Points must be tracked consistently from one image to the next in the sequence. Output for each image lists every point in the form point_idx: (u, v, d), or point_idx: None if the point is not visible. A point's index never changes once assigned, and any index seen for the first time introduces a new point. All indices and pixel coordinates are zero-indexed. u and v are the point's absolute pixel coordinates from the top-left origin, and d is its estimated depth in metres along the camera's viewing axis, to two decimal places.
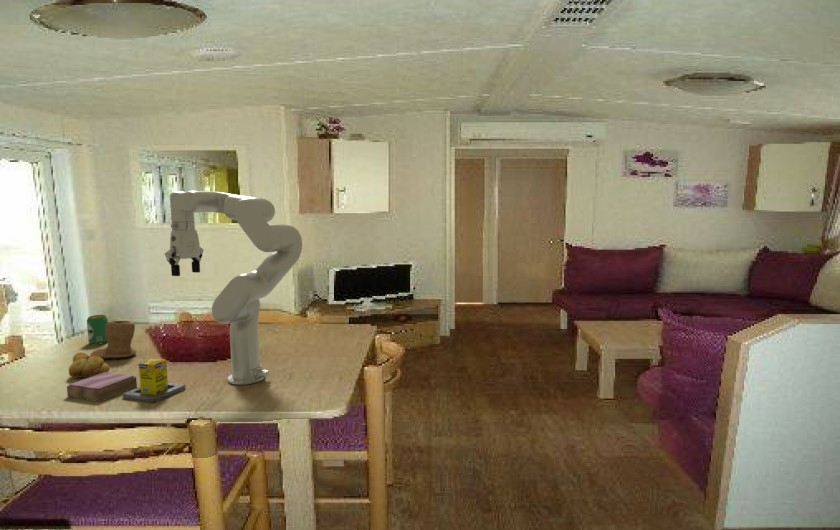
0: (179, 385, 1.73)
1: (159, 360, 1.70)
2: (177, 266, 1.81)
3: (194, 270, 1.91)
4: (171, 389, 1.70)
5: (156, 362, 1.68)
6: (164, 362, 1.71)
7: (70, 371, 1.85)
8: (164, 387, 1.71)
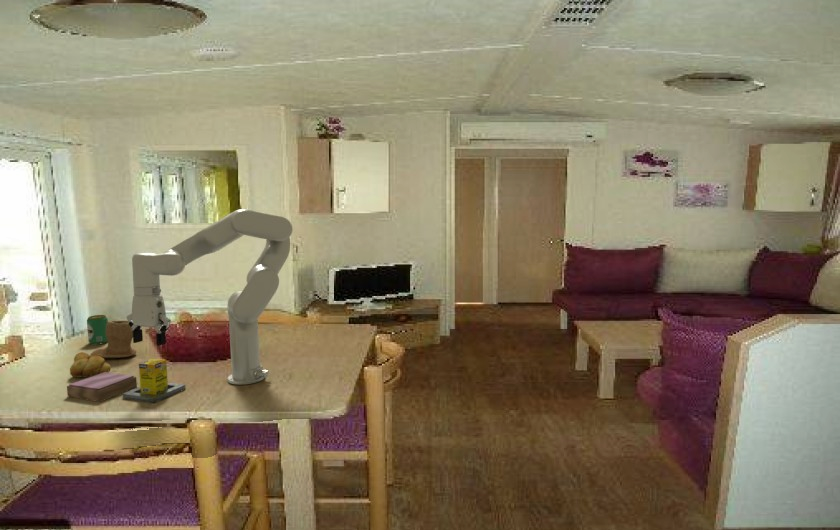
0: (179, 385, 1.73)
1: (159, 360, 1.70)
2: (164, 333, 1.67)
3: (138, 340, 1.69)
4: (171, 389, 1.70)
5: (156, 362, 1.68)
6: (164, 362, 1.71)
7: (71, 371, 1.85)
8: (164, 387, 1.71)
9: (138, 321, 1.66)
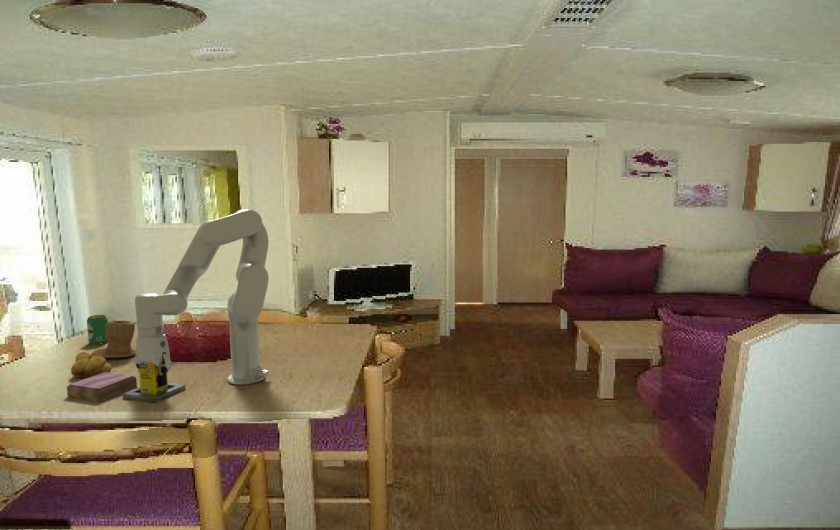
0: (179, 385, 1.73)
1: None
2: (165, 374, 1.70)
3: None
4: (171, 389, 1.70)
5: None
6: None
7: (72, 371, 1.85)
8: (164, 387, 1.71)
9: (142, 361, 1.68)
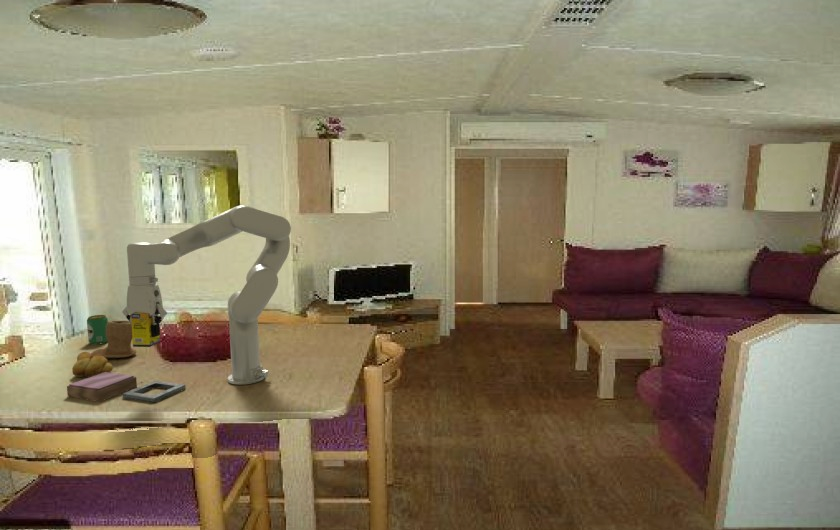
0: (179, 385, 1.73)
1: None
2: None
3: None
4: (171, 389, 1.70)
5: None
6: None
7: (73, 370, 1.86)
8: (156, 338, 1.69)
9: (134, 311, 1.66)
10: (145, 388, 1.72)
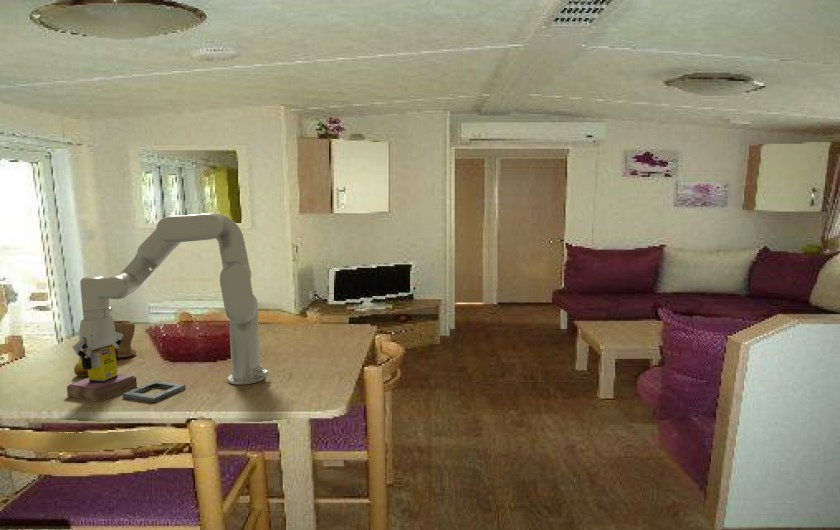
0: (179, 385, 1.73)
1: None
2: None
3: None
4: (171, 389, 1.70)
5: (107, 346, 1.73)
6: None
7: (75, 370, 1.86)
8: None
9: (98, 344, 1.68)
10: (145, 388, 1.72)
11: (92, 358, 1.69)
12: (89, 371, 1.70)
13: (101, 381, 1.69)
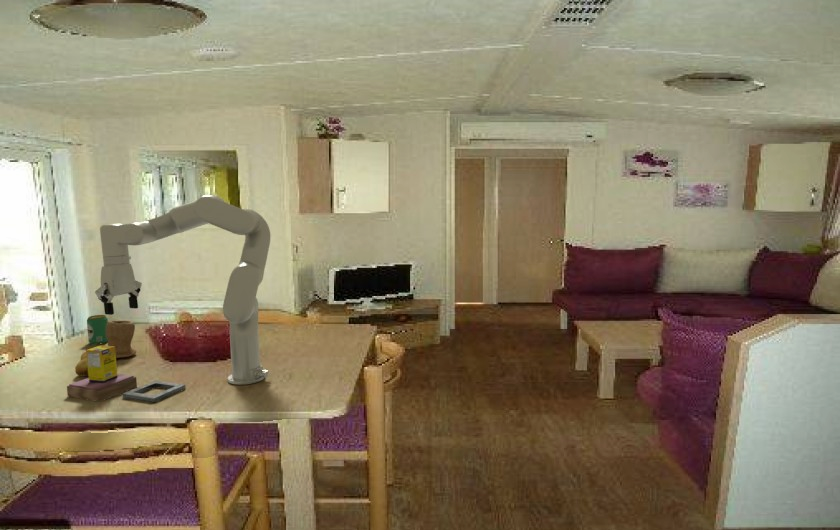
0: (179, 385, 1.73)
1: (100, 346, 1.73)
2: None
3: None
4: (171, 389, 1.70)
5: (107, 346, 1.73)
6: None
7: (76, 370, 1.86)
8: None
9: (120, 290, 1.72)
10: (145, 388, 1.72)
11: (92, 358, 1.69)
12: (89, 371, 1.70)
13: (101, 381, 1.69)
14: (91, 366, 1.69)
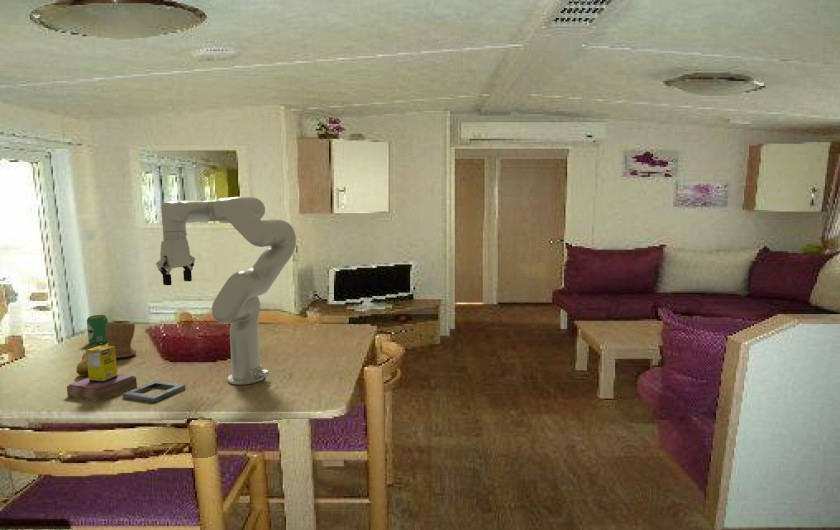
0: (179, 385, 1.73)
1: (100, 346, 1.73)
2: None
3: None
4: (171, 389, 1.70)
5: (107, 346, 1.73)
6: None
7: (77, 369, 1.87)
8: None
9: (177, 263, 1.86)
10: (145, 388, 1.72)
11: (92, 358, 1.69)
12: (89, 371, 1.70)
13: (101, 381, 1.69)
14: (91, 366, 1.69)
